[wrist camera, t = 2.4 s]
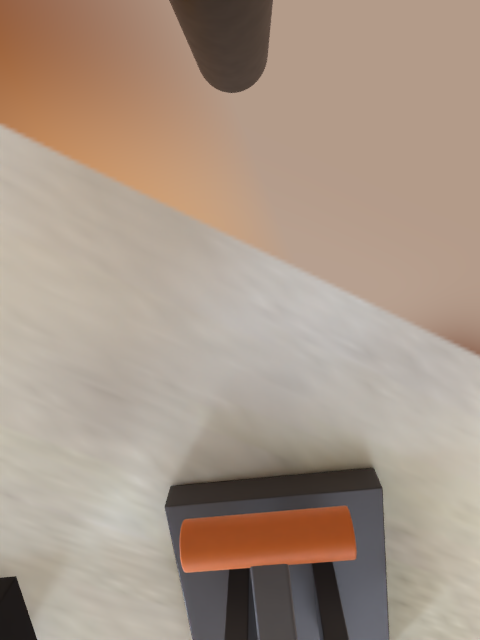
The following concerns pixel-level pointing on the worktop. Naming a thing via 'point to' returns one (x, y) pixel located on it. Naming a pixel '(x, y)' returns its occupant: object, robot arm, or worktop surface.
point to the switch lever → (269, 554)
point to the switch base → (306, 579)
